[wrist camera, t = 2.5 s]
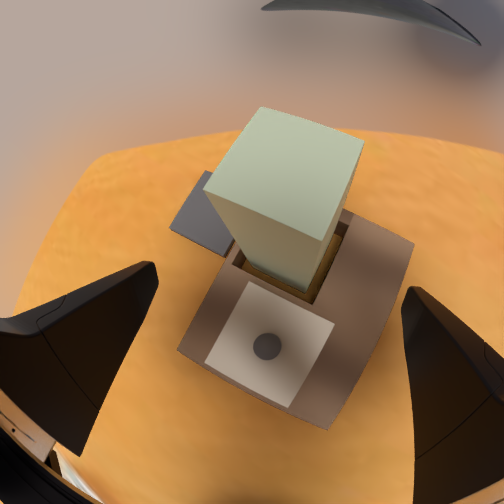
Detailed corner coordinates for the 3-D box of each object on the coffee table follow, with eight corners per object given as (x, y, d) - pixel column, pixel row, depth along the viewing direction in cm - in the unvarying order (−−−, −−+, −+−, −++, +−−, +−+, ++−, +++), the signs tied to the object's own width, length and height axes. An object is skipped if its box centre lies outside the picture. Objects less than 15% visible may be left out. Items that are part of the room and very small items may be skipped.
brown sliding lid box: (323, 419, 16) (330, 439, 13) (189, 348, 19) (166, 351, 16) (402, 253, 19) (423, 236, 15) (274, 194, 22) (270, 166, 18)
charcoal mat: (225, 257, 21) (223, 255, 20) (171, 230, 22) (168, 227, 22) (261, 194, 22) (260, 191, 22) (207, 173, 24) (205, 170, 23)
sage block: (305, 293, 19) (322, 241, 8) (252, 267, 21) (202, 189, 9) (330, 242, 20) (364, 141, 9) (279, 218, 21) (261, 106, 10)
